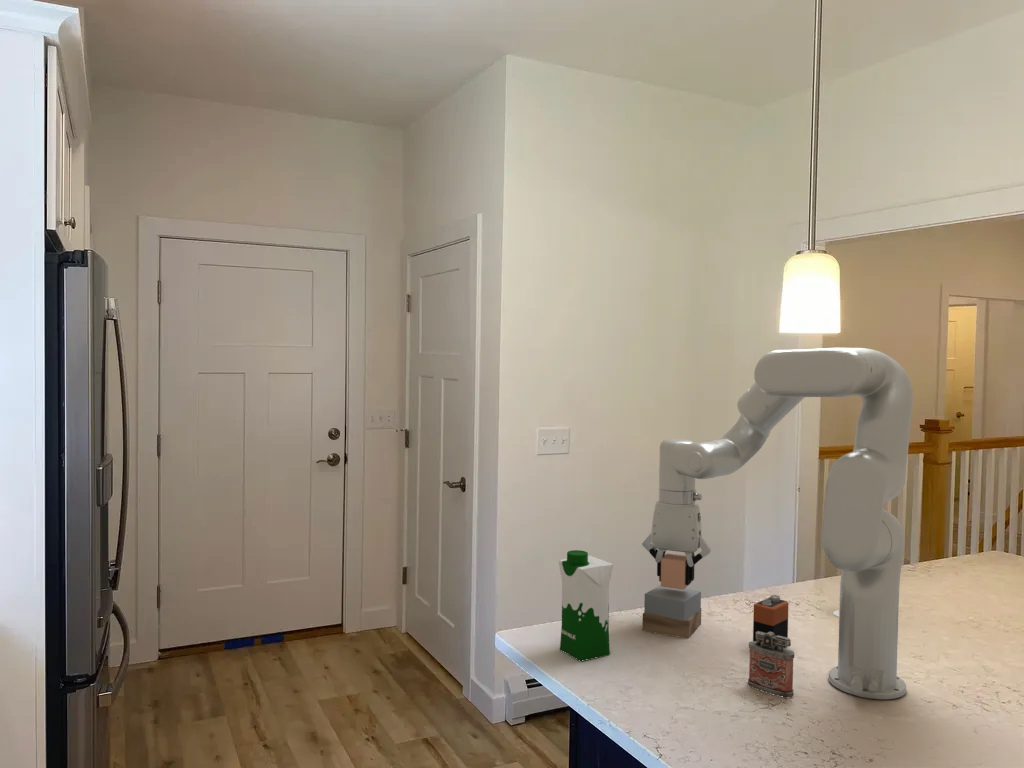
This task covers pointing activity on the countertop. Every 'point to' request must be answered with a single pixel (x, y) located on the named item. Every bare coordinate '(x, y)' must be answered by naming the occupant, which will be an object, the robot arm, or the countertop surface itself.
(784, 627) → the battery
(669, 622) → the tower base
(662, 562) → the pillar block
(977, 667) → the countertop surface
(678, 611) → the tower top
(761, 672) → the lighter
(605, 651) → the milk carton
